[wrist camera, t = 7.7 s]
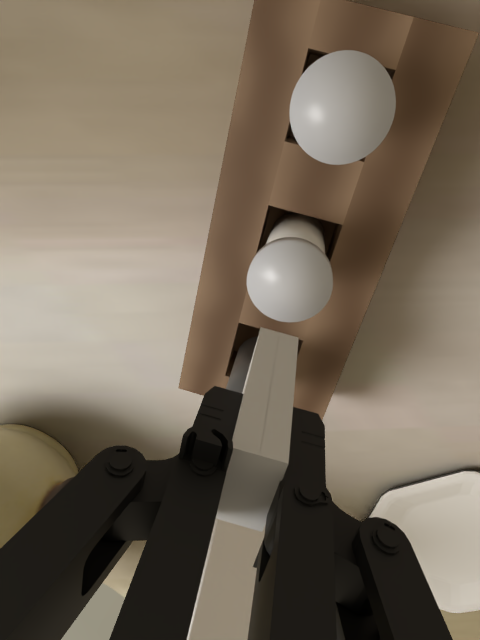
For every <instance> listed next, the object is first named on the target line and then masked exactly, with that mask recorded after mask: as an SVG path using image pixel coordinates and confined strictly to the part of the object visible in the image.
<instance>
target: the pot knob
mask: <svg viewBox="0 0 480 640" xmlns="http://www.w3.org/2000/svg"><path fill="white" fill-rule="evenodd" d="M257 338H258V336H256V337H252V338H250V339H248V340H246V341H245V342H244V343H243V344H242V345H241V346H240V348H239V350H238V353H237V356H236V359H235V362H234V365H233V368H232V371H231V374H230V377H229V380H228V383H227V386H226V389H228V390H232V391H235V392H239V393H242V392H243V388H244V384H245V381H246V377H247V374H248V370H249V367H250V363H251V360H252V356H253V353H254V349H255V345H256V342H257Z"/></svg>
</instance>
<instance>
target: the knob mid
mask: <svg viewBox="0 0 480 640" xmlns="http://www.w3.org/2000/svg"><path fill="white" fill-rule="evenodd" d="M332 289H333V273H332V268H331V264H330V262H329V260H328V258H327V256H326V255H325V235H324V230H323V227H322V225H321V223H320V222H319V221H318V220H317V219H316V218H314V217H311V216H307V215H303V214H300V213H296V212H289V213H286V214H284V215H283V216H281V217H280V218H279V219H278V220H277V221H276V222H275V223H274V225H273V227H272V229H271V232H270V234H269V237H268V240H267V242H266V245H264V246H263V247H262V248H261V249H260V250H259V251H258V252H257V253H256V255H255V256H254V258H253V260H252V262H251V265H250V267H249V270H248V273H247V290H248V294H249V296H250V298H251V300H252V302H253V304H254V305H255V306H256V307H257V308H258V309H259V311H261V312H262V313H263V314H265V315H266V316H268V317H270V318H272V319H274V320H277V321H281V322H300V321H304V320H306V319H309V318H311V317H313V316H315V315H316V314H317V313H319V312H320V311H321V310H322V309H323V308H324V307H325V305H326V304H327V302H328V301H329V299H330V296H331V293H332Z"/></svg>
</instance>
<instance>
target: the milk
mask: <svg viewBox="0 0 480 640" xmlns="http://www.w3.org/2000/svg"><path fill="white" fill-rule="evenodd" d="M265 526H266V524H265ZM265 526H264V529H263V531H262V532H260V531H257V530H254V529H250V528H247V527H243V526H240V525H236V524H233V523H230V522H226V521H223V520H219V519H215V523H214V527H213V531H212V535H211V540H210V544H209V548H208V552H207V556H206V561H205V565H204V569H203V573H202V577H201V582H200V586H199V590H198V594H197V598H196V603H195V607H194V611H193V615H192V619H191V624H190V628H189V632H188V636H187V640H247V639H248V631H249V624H250V616H251V609H252V601H253V594H254V586H255V579H256V571H257V568H254V567H253V565H254V562H255V559H256V557H257V554H258V552H259V549H260V547H261V544H262V541H263V539H264V534H265Z"/></svg>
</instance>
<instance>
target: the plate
mask: <svg viewBox="0 0 480 640" xmlns="http://www.w3.org/2000/svg"><path fill="white" fill-rule="evenodd" d="M370 517H379V518H383V519H387V520H388V521H390V522H392V523H394V524H395V525H397V526H398V527H399V528H400V529H401V530H402V531H403V532H404V533H405V535H406V536H407V538H408V540H409V541H410V543H411V545H412V548H413V550H414V552H415V555H416V557H417V559H418V561H419V564H420V566H421V568H422V571H423V573H424V575H425V577H426V580H427V582H428V584H429V587H430V589H431V591H432V593H433V596H434V598H435V600H436V603H437V605H438V607H439V609H441V610H445V611H448V612H452V613H464V612H470V611H476V610H480V472H479V471H476V470H460V471H456V472H452V473H449V474H445V475H441V476H437V477H434V478H430V479H426V480H422V481H419V482H415V483H411V484H407V485H403V486H400V487H396V488H392V489H389V490H388V491H386V492H385V493H383V494H382V495H381V497H380V498H379V500H378V502H377V503H376V505H375V507H374V508H373V510H372V512H371V513H370V515H369V517H368V518H370Z"/></svg>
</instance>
